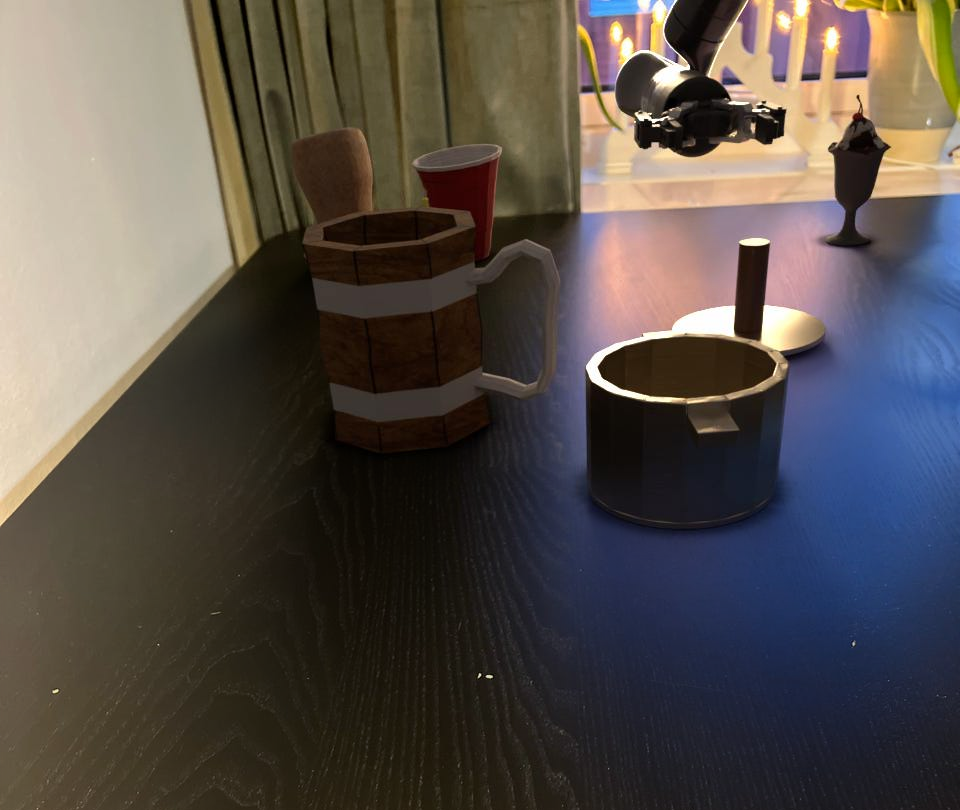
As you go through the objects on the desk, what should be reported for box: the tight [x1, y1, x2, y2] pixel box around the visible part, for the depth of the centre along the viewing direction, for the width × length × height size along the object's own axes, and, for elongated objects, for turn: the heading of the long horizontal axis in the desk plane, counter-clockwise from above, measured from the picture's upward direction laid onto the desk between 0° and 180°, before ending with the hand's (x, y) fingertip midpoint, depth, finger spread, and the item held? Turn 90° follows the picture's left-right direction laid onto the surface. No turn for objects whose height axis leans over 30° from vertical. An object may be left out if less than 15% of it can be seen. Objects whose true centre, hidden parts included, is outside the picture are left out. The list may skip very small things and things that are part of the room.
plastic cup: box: [411, 143, 503, 262], centre depth 119 cm, size 11×11×12 cm
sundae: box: [824, 94, 892, 247], centre depth 111 cm, size 7×7×15 cm
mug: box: [301, 205, 561, 454], centre depth 76 cm, size 20×14×15 cm
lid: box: [671, 237, 827, 357], centre depth 88 cm, size 14×14×9 cm
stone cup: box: [289, 127, 374, 260], centre depth 123 cm, size 15×12×15 cm
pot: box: [584, 330, 790, 530], centre depth 65 cm, size 13×18×8 cm
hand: (724, 136), depth 92 cm, fingers open, 8 cm apart
